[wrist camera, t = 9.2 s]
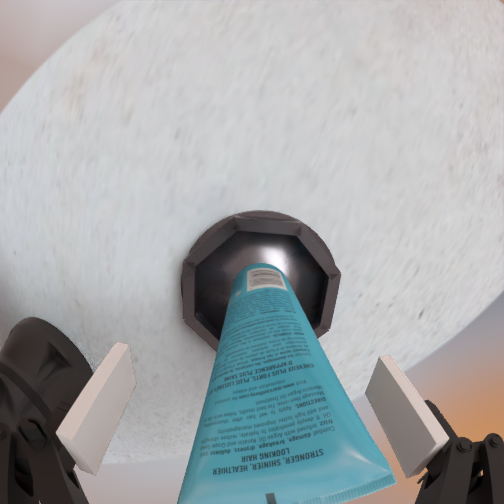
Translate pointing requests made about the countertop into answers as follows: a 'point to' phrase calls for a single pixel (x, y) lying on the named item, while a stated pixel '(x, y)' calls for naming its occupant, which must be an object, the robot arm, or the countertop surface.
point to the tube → (277, 411)
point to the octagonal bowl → (250, 252)
